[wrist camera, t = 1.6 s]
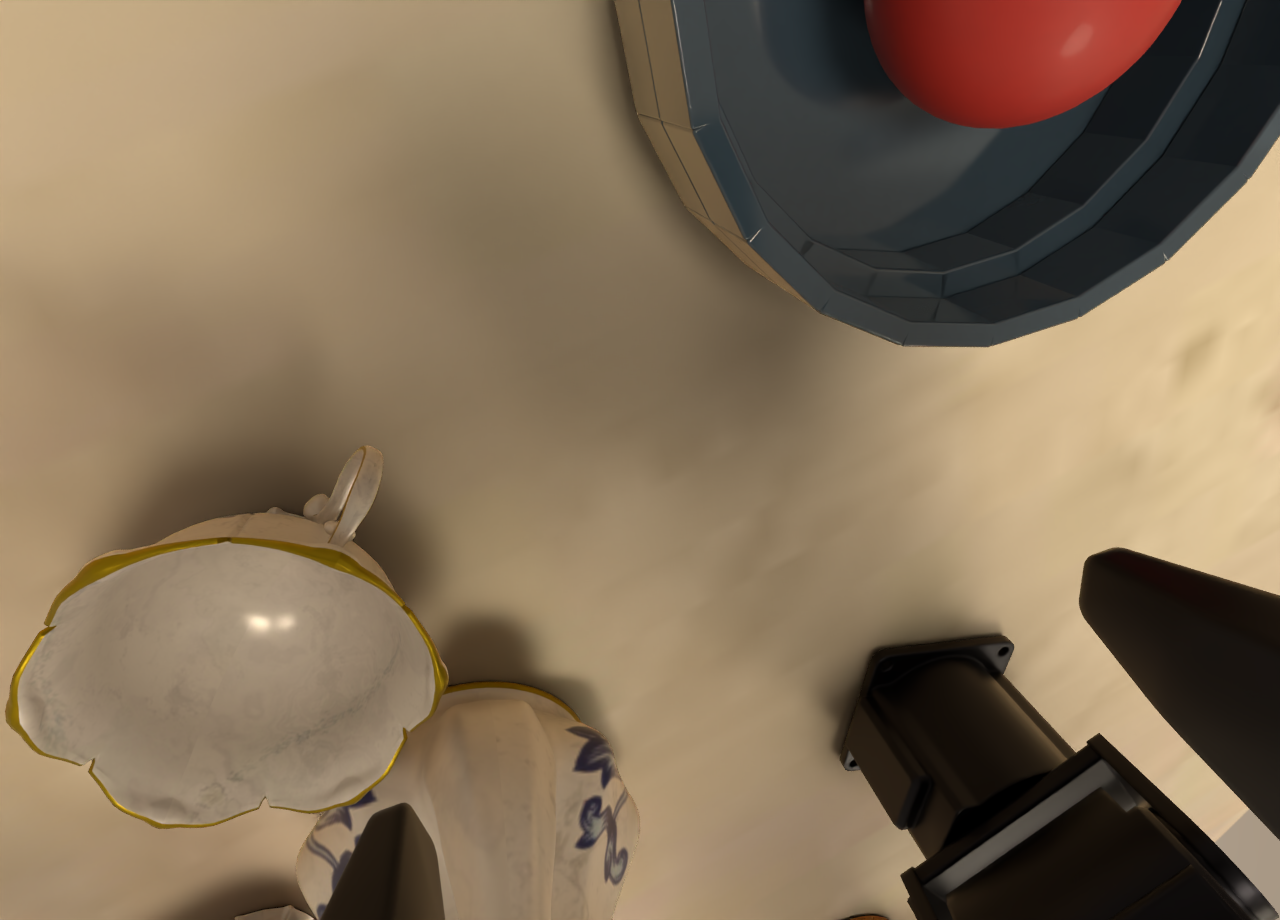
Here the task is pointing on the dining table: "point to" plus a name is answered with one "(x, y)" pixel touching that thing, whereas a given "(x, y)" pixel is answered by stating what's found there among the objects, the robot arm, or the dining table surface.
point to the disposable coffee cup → (868, 918)
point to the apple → (1009, 53)
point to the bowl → (944, 164)
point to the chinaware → (319, 713)
